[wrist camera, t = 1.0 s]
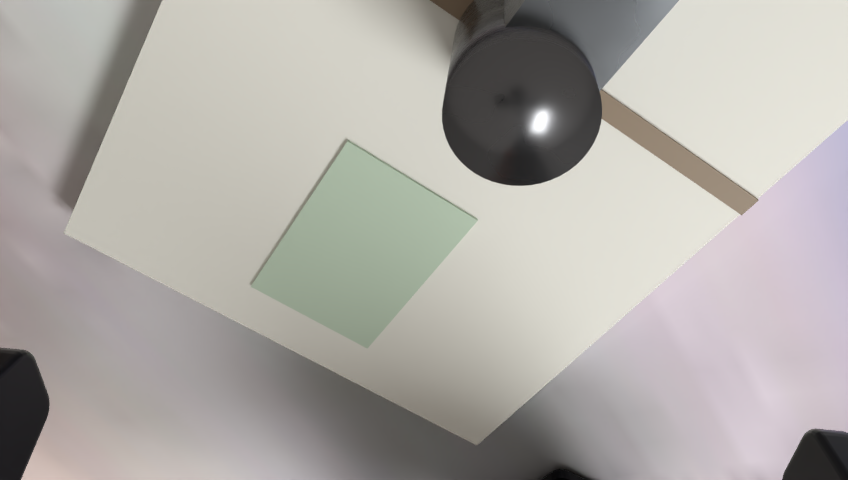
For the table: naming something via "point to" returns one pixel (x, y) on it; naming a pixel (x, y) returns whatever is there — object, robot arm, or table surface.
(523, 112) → the bar
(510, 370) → the board
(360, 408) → the table surface
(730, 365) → the table surface
